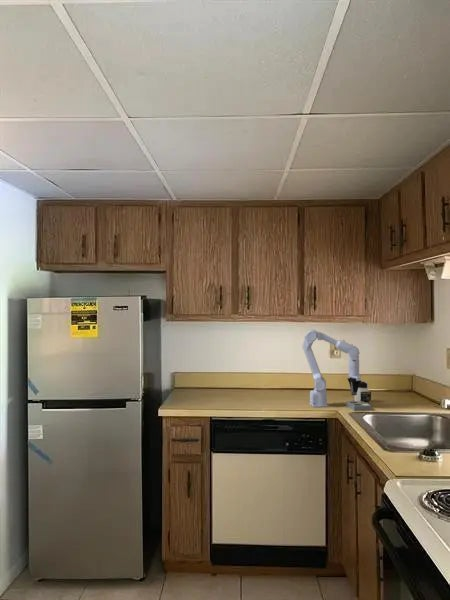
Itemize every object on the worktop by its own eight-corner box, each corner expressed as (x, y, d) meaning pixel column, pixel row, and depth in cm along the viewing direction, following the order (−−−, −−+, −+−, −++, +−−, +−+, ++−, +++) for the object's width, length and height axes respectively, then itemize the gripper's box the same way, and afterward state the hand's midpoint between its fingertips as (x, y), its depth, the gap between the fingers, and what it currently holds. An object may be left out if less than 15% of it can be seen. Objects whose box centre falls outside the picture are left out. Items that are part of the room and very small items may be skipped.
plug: (352, 395, 277) (352, 383, 277) (350, 394, 280) (350, 382, 280) (357, 395, 277) (357, 382, 277) (355, 394, 280) (355, 382, 280)
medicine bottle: (360, 403, 288) (360, 383, 288) (354, 401, 295) (354, 381, 295) (371, 402, 290) (371, 382, 290) (364, 400, 297) (364, 380, 297)
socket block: (354, 410, 269) (354, 406, 269) (346, 405, 282) (346, 401, 282) (371, 410, 270) (371, 405, 270) (363, 405, 283) (363, 400, 283)
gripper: (365, 369, 272) (365, 393, 272) (356, 365, 286) (356, 388, 286) (353, 369, 271) (353, 393, 271) (344, 365, 286) (344, 389, 286)
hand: (354, 391), depth 279 cm, fingers closed on plug, 3 cm apart
